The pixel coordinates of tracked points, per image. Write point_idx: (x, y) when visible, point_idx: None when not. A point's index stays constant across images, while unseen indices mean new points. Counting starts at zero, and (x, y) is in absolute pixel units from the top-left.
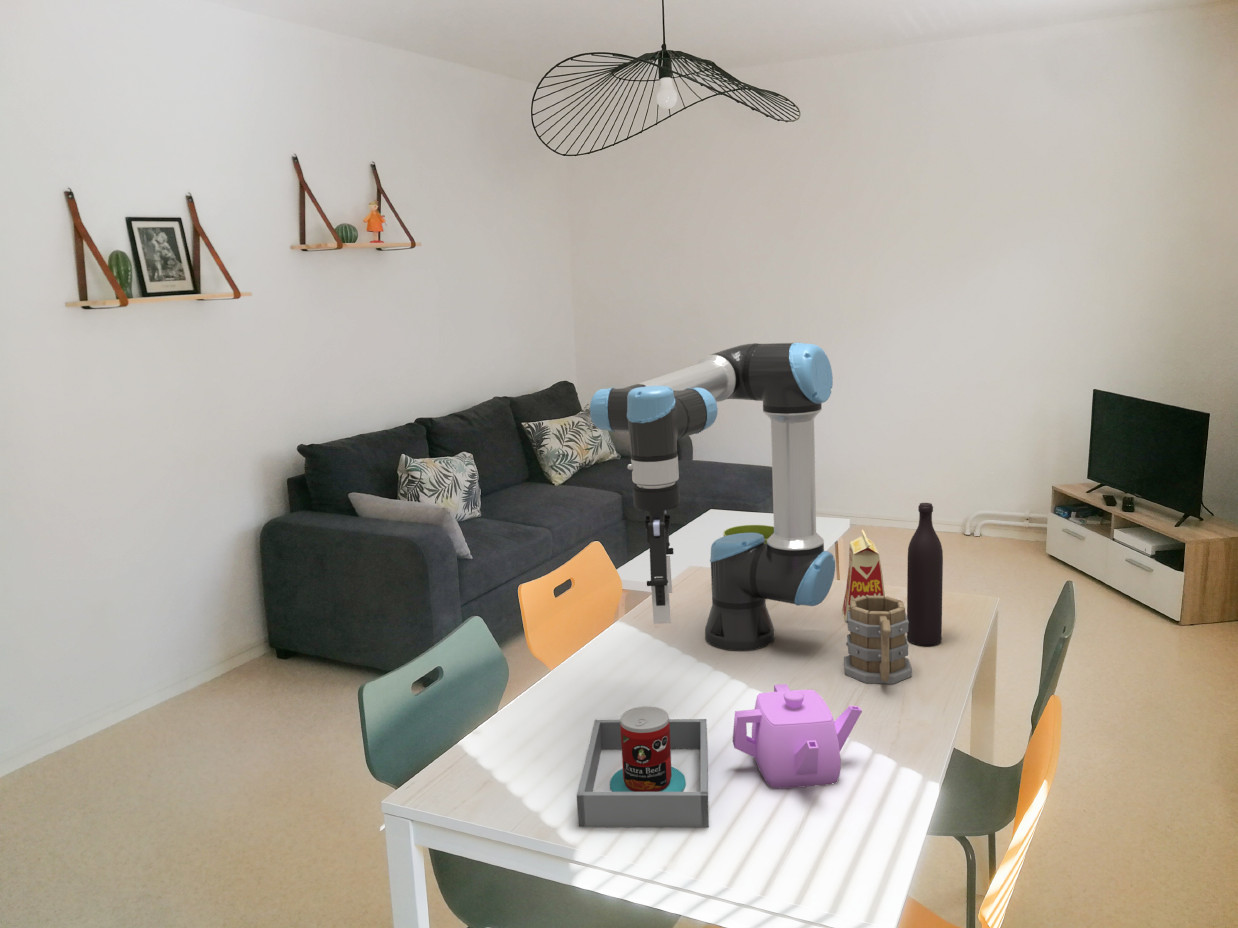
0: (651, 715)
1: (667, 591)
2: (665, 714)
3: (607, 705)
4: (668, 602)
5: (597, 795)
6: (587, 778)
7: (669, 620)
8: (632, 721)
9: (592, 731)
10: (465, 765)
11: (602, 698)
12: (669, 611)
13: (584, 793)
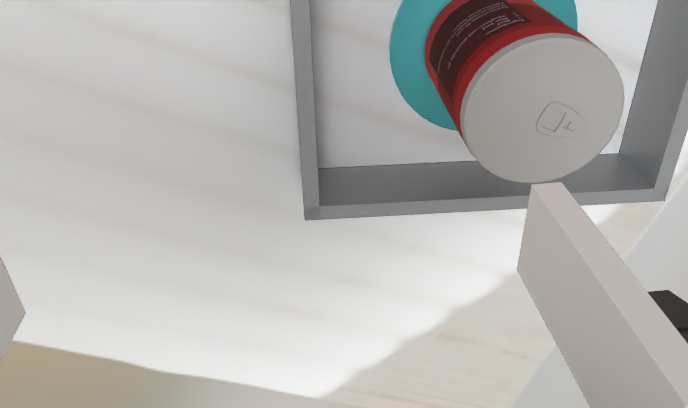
0: (518, 94)
1: (683, 350)
2: (534, 50)
3: (76, 188)
4: (629, 278)
5: (676, 160)
6: (594, 190)
7: (568, 197)
8: (549, 146)
9: (369, 215)
10: (384, 379)
11: (37, 206)
12: (596, 231)
13: (660, 186)
